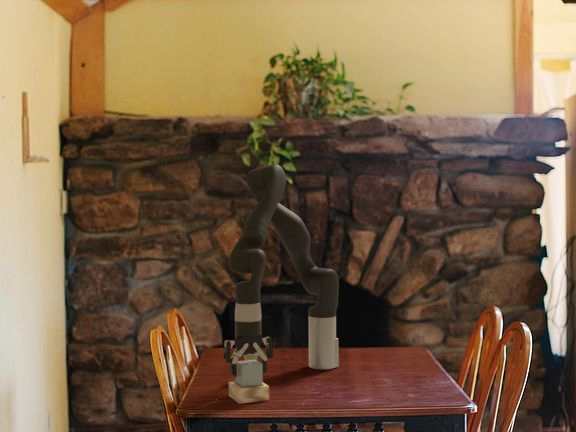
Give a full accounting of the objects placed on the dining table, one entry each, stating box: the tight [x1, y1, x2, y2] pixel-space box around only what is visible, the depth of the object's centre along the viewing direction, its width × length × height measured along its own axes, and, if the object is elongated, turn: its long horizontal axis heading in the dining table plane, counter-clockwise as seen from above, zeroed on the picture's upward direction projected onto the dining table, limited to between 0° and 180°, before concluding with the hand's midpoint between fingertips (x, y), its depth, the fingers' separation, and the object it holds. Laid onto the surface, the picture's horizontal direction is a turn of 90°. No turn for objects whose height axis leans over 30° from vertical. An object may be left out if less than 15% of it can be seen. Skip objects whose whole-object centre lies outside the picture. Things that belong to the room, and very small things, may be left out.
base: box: [228, 380, 270, 405], centre depth 220 cm, size 9×9×4 cm
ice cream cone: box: [242, 353, 259, 361], centre depth 242 cm, size 5×5×15 cm
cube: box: [235, 359, 264, 387], centre depth 220 cm, size 6×6×6 cm
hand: (248, 374), depth 220 cm, fingers open, 8 cm apart
